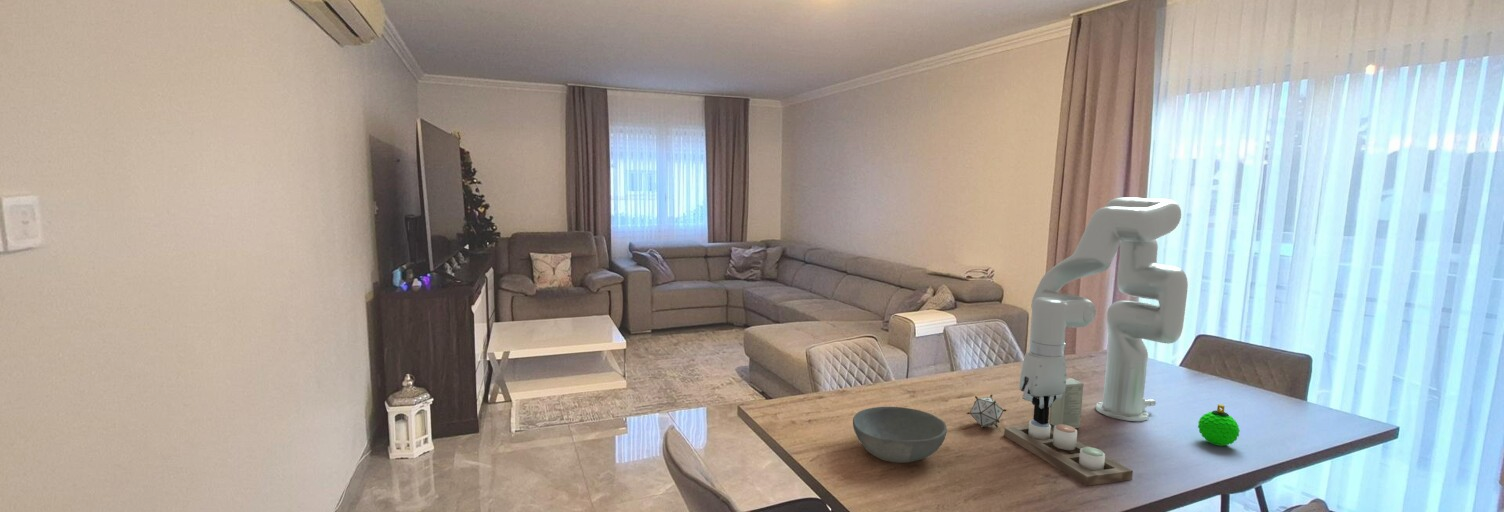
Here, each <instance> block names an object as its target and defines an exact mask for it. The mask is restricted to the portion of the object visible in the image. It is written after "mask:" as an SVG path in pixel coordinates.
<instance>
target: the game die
mask: <svg viewBox="0 0 1504 512" xmlns="http://www.w3.org/2000/svg"><path fill="white" fill-rule="evenodd" d="M974 397H975V398H974V399H976V400H975V401H974V402H973V403H974V404H973V406H972V407H971V409H970V412H966V415H970V416H971V417H973V419H974V420H975V421H976V422H977V423H978V425H979V426H980V430H981V431H982V430H983V429H984V428H985V427H990V426H991V427H992V426H995V428H999V425H998V423H1000V418H1001V416H1002V415H1003V412H1007V411H1008V410H1007V409H1005V408H1004V409H1003V408H1002V407H1001V406H1000V405H999V404H998V403H997V401H996V400H995V399H994V398H993V394H992V393H991V394H990V396H989V397H981V398H980V397H979V398H978V396H976V395H975V396H974ZM983 427H984V428H983Z"/></svg>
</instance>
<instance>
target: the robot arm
mask: <svg viewBox="0 0 1504 512" xmlns="http://www.w3.org/2000/svg"><path fill="white" fill-rule="evenodd" d="M1181 219H1182V210H1181V207H1180V205H1179V203H1177V202H1176V201H1175V200H1172V199H1167V198H1143V197H1117V198H1113V199H1110V201H1108V202H1106V205H1105V206H1104V207H1099V208H1098V209H1096V210H1095V211H1094V212H1093V214H1092V216H1091V217H1090V219H1089V222H1088V223H1087V225H1086V227H1085V230H1084V232H1083V234H1082V236H1081V237H1080V240H1079V242H1078V244H1077V246H1076V249H1075V251H1074V252H1073V254H1071V255H1070V256H1068V257H1067V258H1065V259H1063V260H1062V261H1060V262H1059V263H1057V264H1056V265H1055V266H1053V267H1052V268H1050V269H1049V270H1048V271H1047V272H1046V273H1045V274H1044V275H1043V276H1042V278H1041V279H1040V281H1039V284H1038V285H1037V287H1036V289H1035V292H1034V293H1033V297H1032V299H1031V308H1030V309H1031V320H1030V321H1031V322H1030V323H1031V324H1030V331H1029V332H1030V333H1029V345H1028V347H1029V348H1028V352H1025V355H1024V358H1023V361H1022V365H1021V371H1020V375H1019V376H1020V377H1019V390H1020V391H1021V392H1023V393H1022V397H1021V398H1022V399H1023V400H1025V401H1027V402H1031V404H1032V405H1033V415H1032V417H1033V419H1032V420H1035V421H1036V422H1038V423H1040V424H1044V423H1045V424H1048V423H1049V417H1050V408H1051V407H1052V404H1053V402H1054V401H1055V400H1056V399H1058V398H1061V397H1062V396H1063V393H1064V391H1065V388H1066V378H1067V361H1066V355H1065V354H1064V352H1065V349H1066V348H1067V344H1066V343H1065V341H1066V331H1067V330H1066V329H1067V328H1084V327H1087V326H1089V325H1090V324H1091V323H1093V321H1094V319H1095V317H1096V314H1097V313H1096V312H1097V311H1096V306H1095V304H1094V303H1093V302H1092V301H1091V300H1090V299H1088V298H1086V297H1084V296H1078V295H1074V294H1068V293H1062V292H1059V291H1060V290H1061V289H1062V288H1063V287H1064V286H1066V285H1067V284H1068V283H1070V282H1073V281H1075V280H1078V279H1081V278H1085V277H1086V278H1087V277H1090V276H1093V275H1097V274H1100V273H1103V272H1106V271H1107V270H1108V269H1109V268H1110V267H1111V264H1112V263H1113V260H1114V257H1115V256H1116V253H1117V252H1118V250H1119V258H1118V268H1117V279H1116V281H1117V282H1116V285H1117V289H1118V291H1119V292H1120V293H1121V294H1122V295H1126V296H1129V297H1134V298H1140V299H1146V300H1153V301H1157V302H1158V304H1152V303H1148V302H1141V301H1136V300H1135V301H1134V300H1123V299H1122V300H1117V301H1115V302H1112V304H1110V305H1109V307H1108V309H1107V312H1106V324H1107V338H1108V339H1107V340H1108V341H1107V351H1106V353H1107V355H1106V364H1105V373H1104V375H1105V376H1104V384H1103V395H1102V401H1099V402H1097V403H1096V404H1095V409H1096V411H1097V412H1098V413H1100V414H1103V415H1104V416H1107V417H1110V418H1113V419H1117V420H1122V421H1127V422H1129V421H1130V422H1144V421H1146V420H1148V419H1149V412H1148V411H1147V410H1146V408H1147V407H1154V406H1156V404H1157V403H1156V400H1155V399H1153V398H1147V399H1146V398H1145V389H1146V378H1147V371H1148V369H1147V368H1148V361H1149V352H1148V349H1147V346H1146V345H1145V343H1144V341H1143V340H1147V341H1151V342H1156V343H1160V344H1173V343H1176V342H1178V340H1179V339H1180V337H1181V335H1182V332H1183V329H1184V321H1185V313H1186V305H1187V297H1188V288H1189V287H1188V286H1189V283H1188V278H1187V275H1186V273H1185V271H1184V270H1183V269H1181V267H1178V266H1175V265H1167V264H1161V263H1158V262H1157V261H1158V259H1157V258H1158V248H1159V247H1158V246H1159V245H1158V241H1157V239H1159V238H1161V237H1164V236H1166V235H1168V234H1170V233H1171V232H1173V231H1174V230H1175V229H1176V228H1177V227H1178V225H1179V224H1180V221H1181ZM1119 247H1120V248H1119Z"/></svg>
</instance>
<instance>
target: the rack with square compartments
mask: <svg viewBox="0 0 1504 512" xmlns="http://www.w3.org/2000/svg"><path fill="white" fill-rule="evenodd" d="M1028 431H1029V424H1028V425H1021V426H1019V425H1018V426H1010V427H1004V433H1003V436H1004V437H1006V438H1008V439H1009V440H1011V441H1012V442H1014V443H1016V444H1017V445H1020V447H1022V448H1024V449H1025V450H1027V451H1028V452H1031V453H1032V454H1033V455H1035V456H1037V457H1038V458H1040V459H1042V460H1044V461H1045V462H1047V463H1049V464H1050V465H1052V466H1053V467H1055V468H1057V469H1058V470H1060V471H1061V472H1063V473H1065V474H1066V475H1068V476H1070V477H1071V478H1073V479H1075V480H1076V481H1078V482H1079V483H1081V484H1083V485H1085V486H1086V487H1088V486H1095V485H1102V484H1109V483H1117V482H1124V481H1130V480H1131V481H1132V480H1133V473H1134V470H1133V469H1130V468H1129V467H1127V466H1125V465H1124V464H1121V463H1119V462H1117V461H1116V460H1114V459H1111V458H1110V457H1108V456H1106V455H1105V462H1104V470H1098V471H1090V470H1088V469H1086V468H1085V467H1083V466H1081V465H1080V464H1079V456H1080V449H1081V448H1084V447H1088V446H1087V445H1085V444H1083V443H1081V442H1079V441H1078V440H1076V449H1074V450H1066V451H1067V452H1069V453H1068V454H1062V453H1060V452H1059V451H1057V450H1061V449H1060V448H1058V447H1055V446H1054V445H1053V433H1054V427H1052V426H1051V430H1050V439H1045V440H1036V439H1034V438H1033V437H1031V436H1029V435H1028Z"/></svg>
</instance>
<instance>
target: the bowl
mask: <svg viewBox="0 0 1504 512" xmlns="http://www.w3.org/2000/svg"><path fill="white" fill-rule="evenodd" d="M852 427H853V429H854V430H853V431H854V433H855V435H856V438H857V439H858V441H859V443H860V444H861V445H862V447H864V449H865V450H866V451H867V452H869V454H871V455H872V456H874V457H876V458H877V459H880V460H882V461H886V462H890V463H899V464H902V463H912V462H913V463H914V462H917V461H920V460H923V459H926V458H928V457H929V456H931V455H933V454H935V452H937V450H938V449H939V448H940V447H941V446H942V444H943V443H944V441H945V439H946V436H947V431H948V427H947V425H946V423H945V421H943V420H942V419H941V418H940V417H937V416H936V415H934V414H931V413H929V412H927V411H923V410H919V409H916V408H915V409H914V408H910V407H902V406H876V407H870V408H865V409H862V410H859V411H858V412H857V413H856V414H855V415H854V416H853V418H852Z"/></svg>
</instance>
